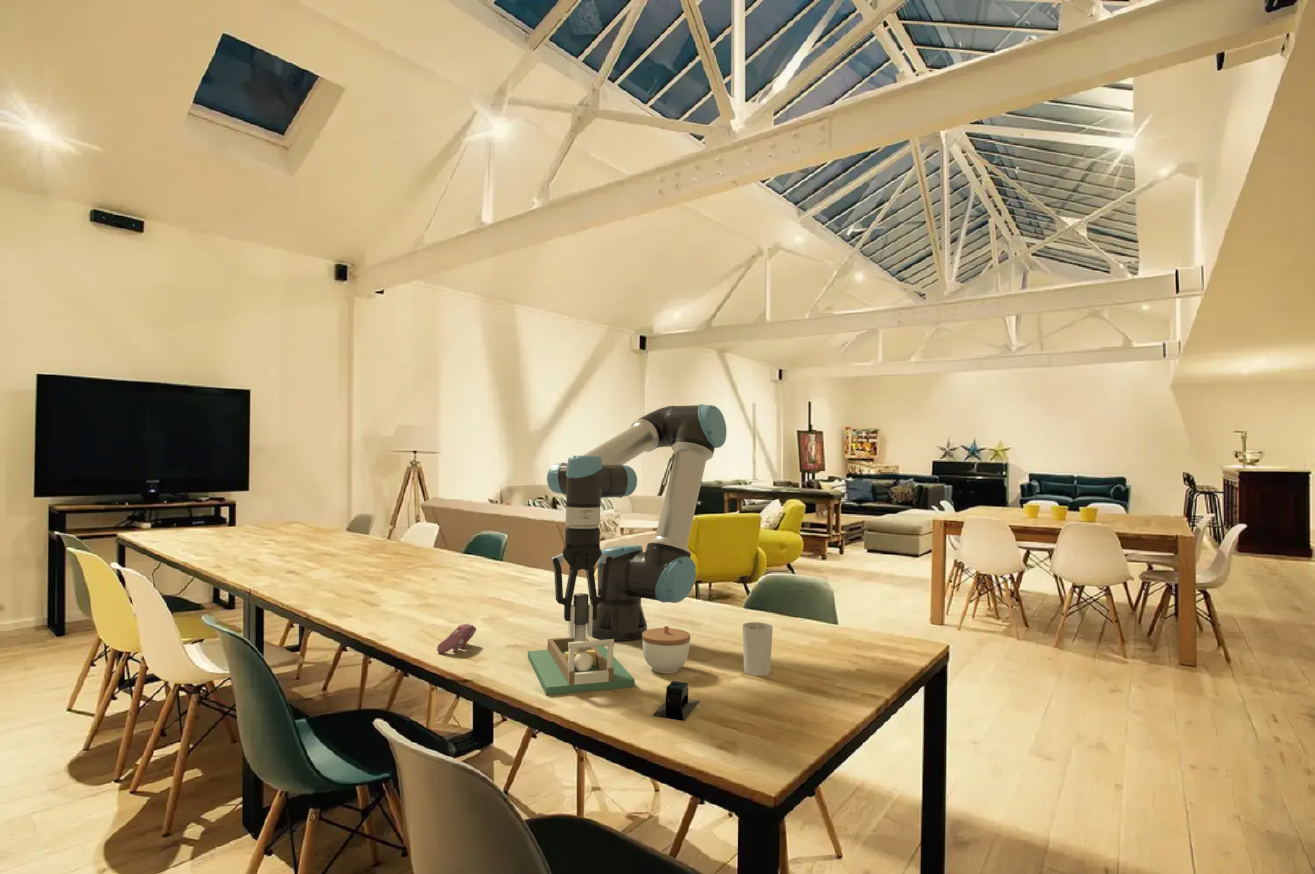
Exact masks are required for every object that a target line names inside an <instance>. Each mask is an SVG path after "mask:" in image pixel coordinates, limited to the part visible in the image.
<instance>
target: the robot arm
mask: <svg viewBox="0 0 1315 874" xmlns="http://www.w3.org/2000/svg"><path fill="white" fill-rule="evenodd" d="M726 439H727V424H726V419H725V416H724V415H723V413H722V411H721V410H720V408H718V407H717V406H715V405H714V404H713V405H712V404H703V403H702V404H696V405H694V404H693V405H692V404H691V405H668V406H665V407H660V408H658V409H656V410H652V411H651V412H649V413H647V414H645V415H643V416H641V417H639V418H637V419H636V420H635V421H633V422H631V425H630V426H629V428H628V429H626V430H623V431H622V432H621V433H619V434H617V435H616V436H614V437H612V438H610V439H609V440H607V441H605V442H603V443H602V444H599V445H598V446H596V447H595V448H593V449H591V450H589V451H588V452H586V453H585V454H583V455H571V456H569V457H568V459H567V463H566V462H561V463H560V462H559V463H555V464H553V465H551V467H550V468H549V469H548V472H547V474H546V482H547V486H548V488H549V490H550V491H552V492H553V493H555V494H559V495H560V494H561V495H563V496H566V500H565V501H566V503H565V523H564V524H565V525H566V526H567V527H566V528H565V530H564V532H565V533H564V547H563V549H562V551H561V552H562V553H561V554H558V555H556V556H551V557H550V560H551V564H552V566H553V570H554V574H553V575H554V590H555V591H554V594H555V600H556V602H557V603H558V604H559V605H563V618H564V621H565V622H568V625H567V627H568V628H567V630H568V631H567V635H568V636H569V637H570V638H574V633H575V624H574V619H575V606H574V605H573V599H574V593H575V592H574V591H575V587H576V583H577V578H578V577H577V575H578V574H579V571H581V570H585V574H586V580H587V588H588V595H589V596H588V598H589V602H588V623H587V624H586V636H588V637H587V638H590V637H593V638H596V639H598V640H608V639H614V642H615V641H618V642H620V641H623V642H625V641H634V640H638V639H642V633H643V632H644V631H646V630H648V625H647V624H648V623H647V620H646V618H645V613H644V611H643V607H642V599H646V600H652V601H653V600H654V601H658V602H661V603H671V604H672V603H673V604H677V603H680V602H681V601H682V602H683V600H684V599H686V598H687V597H688V596H689V595H690V593H691V592H692V590H693V588H694V586H695V582H696V577H697V571H696V568H697V567H696V564H695V561H694V560H693V559H691V556H692V552H691V550H690V549H689V547H688V543H689V538H690V533H691V530H692V525H693V521H694V518H695V513H696V512H695V511H696V507H697V503H698V500H699V499H698V498H699V496H700V495H699V494H700V490H701V486H702V485H701V484H702V480H703V476H704V471H705V468H706V462H707V461H709V460H711V459H712V458H713V457H714V452H715V449H719V448H722V446H723V445H725V443H726ZM669 447H671V450H672V451H673V453H674V459H673V463H672V467H671V470H670V474H669V479H668V483H667V487H666V491H665V494H664V499H663V504H662V508H661V512H660V515H659V516H660V517H659V519H658V523H657V528H656V532H655V536H654V538H653V539H651V540H649V541H648V542H647V544H646V548H645V551H644V549H643V545H640V544H631V545H619V546H609V547H605V548H602V549H601V548H600V544H601V543H600V541H601V529H600V527H598V526H599V525H601V507H602V505H601V499H603V498H604V499H607V498H608V499H609V498H621V499H622V498H625V497H628V496H631V495H632V494H633V493H634V492H635V491H636V489H637V485H638V476H637V473H636V472H635V470H634V469H633V468H632V467H631V466H630V465H626V464H627V463H628V462H630V461H631V460H633V459H635V458H637V457H638V456H639V455H641V454H643V453H644V452H645V453H646V452H647V453H649V452H653V451H654V450H656V449H659V448H669ZM564 560H565V561H566V562H567V564H568V566H569V569H568V578H567V583H566V589H565V593H564V592H563V591H564V589H563V571H562V569H563V568H562V566H563V565H564ZM596 563H597V584H596V579H595V569H594V567H595V565H596ZM596 585H597V587H596Z"/></svg>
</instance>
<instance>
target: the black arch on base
mask: <svg viewBox="0 0 1315 874" xmlns="http://www.w3.org/2000/svg"><path fill="white" fill-rule="evenodd" d="M665 689H666V692H665V702H664V703H662V705H661V706H659V708H658V709H657V710H656V711H655V712H654V713H653V714H652V717H657V718H662V719H668V720H674V721H680V722H685V721H687V719H688V718H689V716H690V715H691V714H692V712H693V711H694V710H695V708H696V707H697V706H698V704H699V703H700V700H695V699H689V683H688V682H684V681H678V680H672V681H671V682H670V683H669V684H668V685H667V686H666V687H665Z"/></svg>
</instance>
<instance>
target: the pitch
mask: <svg viewBox="0 0 1315 874" xmlns="http://www.w3.org/2000/svg"><path fill="white" fill-rule="evenodd" d="M588 638H589V637H587V636H586V639H585V641H580V642H574V638H570V636H569V637H554V638H547V649H537V650H528V651H527V660H528V661H529V663H530V665H531V667H532V669H533V671H534V673H535V675H536V678H537V679H538V681H539V683H540V686H541V687H542V689H543V691H544V694H545V695H546V696H550V695H561V694H562V695H563V694H573V693H584V692H592V691H593V692H595V691H602V690H603V691H604V690H613V689H615V690H616V689H624V688H634V687H635V684H636V683H635V681H636V679H635V678H634V677H633V676H632V675H631V673H630V672H629V671H628V670H627V669H626V668H625V667H624V666H623V665H622V663H620V662H619V660H618V658H617V659H616V657H615V656H614V646H615V641H614V639H608V640H604V639H597V640H596V639H595V640H590V639H588ZM584 647H585V650H595V652H596V660H595V666H592V667H591V668H590V669H589V670H588V671H586V672H580V671H578V670H577V669H576V668H574V655H575V648H584ZM565 652H569V653H568V661H567V660H566V659H565Z"/></svg>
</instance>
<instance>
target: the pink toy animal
mask: <svg viewBox="0 0 1315 874" xmlns="http://www.w3.org/2000/svg"><path fill="white" fill-rule="evenodd" d="M476 631H477V627H476V626H474V625H472V624H469V623H464V624H460V625H458V626H457V627H456V628H455V629H454V630H453V631H452V632H451V633H449V635H448V636H447V637H446V638H445V639H443V640H442V641H441V642H439V644H438V645H437V647H436V651H437V653H439V654H445V653H447V652H449V651H451V650H453V651H454V652H457V651H458V650H459V649H460V648H464V647H465V646H467V644H468V642H469V641H470V639H472V638H473V636H474V635H475V633H476Z"/></svg>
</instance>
